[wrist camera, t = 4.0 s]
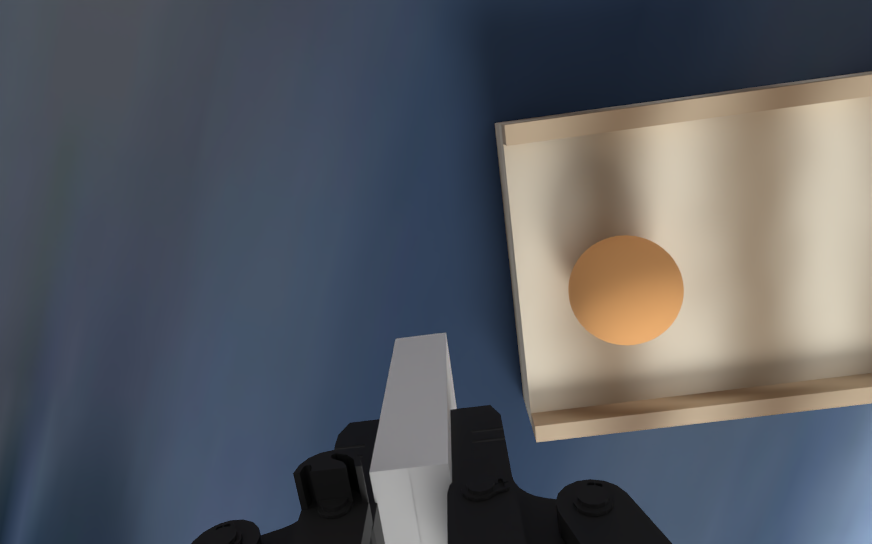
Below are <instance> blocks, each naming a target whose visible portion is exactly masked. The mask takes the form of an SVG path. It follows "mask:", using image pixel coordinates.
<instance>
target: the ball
mask: <svg viewBox="0 0 872 544" xmlns="http://www.w3.org/2000/svg"><path fill="white" fill-rule="evenodd" d="M568 293H569V301H570V305H571V308H572V310H573V312H574V314H575V317H576V318H577V320H578V321H579V322H580V324H581V325H582V326H583V327H584V328H585V329H586V330H587V331H588V332H589V333H591V334H592V335H594V336H595V337H597V338H599V339H601V340H603V341H605V342H608V343H612V344H617V345H636V344H641V343H645V342H648V341H650V340H652V339H655V338H656V337H658V336H660V335H661V334H662V333H664V332H665V331H666V330H667V329H668V328H669V327H670V326H671V325H672V323H673V322H674V321H675V319H676V318H677V316H678V314H679V312H680V309H681V306H682V303H683V297H684V286H683V279H682V275H681V272H680V270H679V268H678V266H677V264H676V263H675V261H674V259H673V258H672V257H671V256H670V254H669V253H668V252H666V251H665V250H664V249H663V248H662V247H660V246H659V245H658V244H656V243H654V242H652V241H650V240H648V239H645V238H642V237H637V236H629V235H622V236H614V237H609V238H606V239H603V240H601V241H599V242H597V243H596V244H594V245H592V246H591V247H590V248H588V249H587V250H586V251H585V252H584V253H583V254H582V255H581V256H580V258H579V259H578V260H577V262H576V264H575V265H574V267H573V269H572V272H571V275H570V279H569V286H568Z"/></svg>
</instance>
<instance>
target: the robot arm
mask: <svg viewBox="0 0 872 544" xmlns="http://www.w3.org/2000/svg"><path fill="white" fill-rule="evenodd" d="M334 448H335V450H332V451H327V452H323V453H319V454H317V455H315V456H313V457H310V458H308V459H307V460H306V461H304V462H303V463H302V464H300V465H299V466H298V468H297V469H296V470H295V472H294V473H293V474H294V479H295V483H296V487H297V492H298V496H299V500H300V505H301V509H302V511H301V514H300V517H299V520H298V521H297V522H295V523H294V524H292V525H289V526H287V527H284V528H282V529H279V530H276V531H273V532H270V533H267V534H264V535H260V531H259V528H258V527H257V526H256V525H255V524H254V523H253V522H250V521H246V520H232V521H228V522H224V523H221V524H218V525H216V526H214V527H212V528H210V529H209V530H207V531H205V532H203V533H202V534H201V535H200V536H199V537H198V538H197V539H195V540H194V541H193V542H192V543H191V544H672V543H671V542H670V541H669V540H668V538H667V537H666V536H665V535H664V534H663V533H662V532H661V531H660V530H659V528H658V527H657V526H656V525H655V524H654V523H653V522H652V521H651V519H650V518H649V517H648V516H647V515H646V514H645V513H644V512H643V510H642V509H641V508H640V507H639V506H638V505H637V504H636V503H635V502H634V500H633V499H632V498H631V497H630V496H629V495H628V494H627V493H626V492H625V491H624V490H622V489H621V488H620V487H618V486H617V485H614V484H611V483H609V482H606V481H600V480H591V479H590V480H582V481H576V482H574V483H572V484H569V485H567V486H565V487H564V488H563V489H562V490H561V491H560V492H559V493H558V496H557V499H549V498H543V497H538V496H534V495H532V494H529V493H527V492H525V491H523V490H522V489H520V488H519V487H518V486H517V485H516V483H515V482H514V480H513V477H512V474H511V468H510V463H509V458H508V452H507V447H506V442H505V436H504V431H503V426H502V420H501V415H500V414H499V413H498V412H497V411H496V410H495V409H494V408H493V407H492V406H491V405H487V406H478V407H469V408H461V409H457V408H456V401H455V394H454V386H453V379H452V372H451V365H450V358H449V351H448V343H447V336H446V333H439V334H430V335H422V336H414V337H406V338H398V339H396V340H395V345H394V350H393V355H392V360H391V365H390V370H389V375H388V380H387V385H386V390H385V395H384V400H383V405H382V410H381V416H380V419H379V420H370V421H362V422H353V423H349V424H348V426H347V427H346V428H345V429H344V430H343V431H342V432H341V433H340V434H339V435H338V438H337V441H336V444H335V447H334Z"/></svg>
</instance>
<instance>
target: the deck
mask: <svg viewBox="0 0 872 544" xmlns="http://www.w3.org/2000/svg"><path fill="white" fill-rule="evenodd" d="M495 131H496V141H497V150H498V160H499V169H500V179H501V188H502V198H503V207H504V217H505V226H506V236H507V245H508V255H509V264H510V274H511V283H512V293H513V302H514V312H515V321H516V331H517V340H518V350H519V359H520V369H521V378H522V388H523V397H524V401H525V405H526V408H527V412H528V415H529V418H530V422H531V425H532V429H533V432H534V435H535V439H536V442H543V441H552V440H560V439H569V438H578V437H586V436H595V435H603V434H612V433H621V432H629V431H638V430H646V429H655V428H663V427H672V426H681V425H689V424H698V423H706V422H715V421H724V420H732V419H741V418H749V417H758V416H767V415H775V414H784V413H792V412H801V411H809V410H818V409H827V408H835V407H844V406H852V405H861V404H870V403H872V71H869V72H861V73H854V74H847V75H840V76H832V77H825V78H818V79H811V80H803V81H796V82H789V83H782V84H774V85H767V86H760V87H753V88H745V89H738V90H731V91H724V92H717V93H709V94H702V95H695V96H688V97H680V98H673V99H666V100H659V101H651V102H644V103H637V104H630V105H622V106H615V107H608V108H601V109H593V110H586V111H579V112H572V113H564V114H557V115H550V116H543V117H535V118H528V119H521V120H514V121H507V122H499V123H495ZM622 235H629V236H637V237H642V238H645V239H648V240H650V241H652V242H654V243H656V244H658V245H659V246H660V247H662V248H663V249H664V250H665V251H666V252H668V253H669V254H670V256H671V257H672V258H673V259H674V261H675V263H676V264H677V266H678V268H679V270H680V272H681V275H682V279H683V286H684V297H683V303H682V306H681V309H680V312H679V314H678V316H677V318H676V319H675V321H674V322H673V323H672V325H671V326H670V327H669V328H668V329H667V330H666V331H665V332H664V333H662V334H661V335H660V336H658V337H656V338H655V339H652V340H650V341H648V342H645V343H641V344H636V345H617V344H612V343H608V342H605V341H603V340H601V339H599V338H597V337H595V336H594V335H592V334H591V333H589V332H588V331H587V330H586V329H585V328H584V327H583V326H582V325H581V324H580V322H579V321H578V320H577V318H576V317H575V314H574V312H573V310H572V308H571V305H570V301H569V293H568V286H569V279H570V275H571V272H572V269H573V267H574V265H575V264H576V262H577V260H578V259H579V258H580V256H581V255H582V254H583V253H584V252H585V251H586V250H587V249H588V248H590V247H591V246H592V245H594V244H596V243H597V242H599V241H601V240H603V239H606V238H609V237H614V236H622Z"/></svg>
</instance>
